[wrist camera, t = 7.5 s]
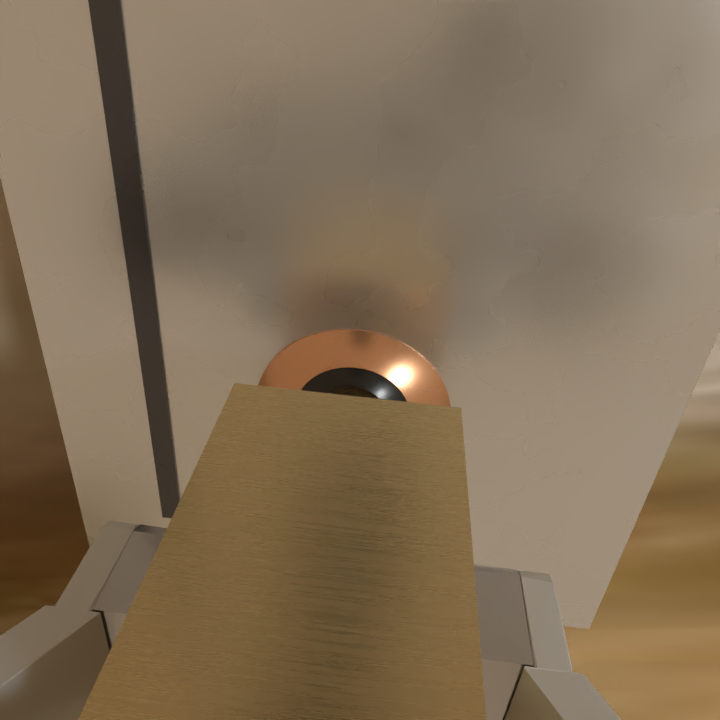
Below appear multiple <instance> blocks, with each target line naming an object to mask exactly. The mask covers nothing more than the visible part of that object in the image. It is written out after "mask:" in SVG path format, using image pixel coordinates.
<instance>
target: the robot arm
mask: <svg viewBox="0 0 720 720" xmlns="http://www.w3.org/2000/svg"><path fill="white" fill-rule="evenodd" d="M166 529H167V528H162V527H155V526H148V525H142V524H133V523H126V522H118V521H111V520H110V521H108V522H107V523H106V524H105V525H104V526H103V527H102V528H101V529H100V531H99V532H98V534H97V536H96V537H95V539H94V541H93V543H92V544H91V546H90V548H89V549H88V551H87V553H86V554H85V556H84V558H83V559H82V561H81V563H80V565H79V566H78V568H77V570H76V571H75V573H74V575H73V576H72V578H71V580H70V582H69V583H68V585H67V587H66V588H65V590H64V592H63V593H62V595H61V597H60V598H59V600H58V602H57V604H56V605H55V606H47V605H45V606H44V607H42V608H41V609H39V610H38V611H36V612H35V613H33V614H32V615H30V616H29V617H27V618H26V619H24V620H23V621H21V622H20V623H18V624H17V625H15V626H14V627H12V628H11V629H9V630H8V631H6V632H5V633H3V634H2V635H0V720H78V719H79V717H80V714H81V712H82V710H83V708H84V706H85V704H86V701H87V699H88V697H89V695H90V693H91V691H92V689H93V686H94V684H95V682H96V680H97V678H98V676H99V673H100V671H101V669H102V667H103V665H104V663H105V661H106V658H107V656H108V654H109V652H110V650H111V648H112V646H113V643H114V641H115V639H116V637H117V635H118V633H119V630H120V628H121V626H122V624H123V622H124V620H125V618H126V615H127V613H128V611H129V609H130V607H131V605H132V602H133V600H134V598H135V596H136V594H137V592H138V590H139V587H140V585H141V583H142V581H143V579H144V577H145V574H146V572H147V570H148V568H149V566H150V564H151V562H152V559H153V557H154V555H155V553H156V551H157V549H158V546H159V544H160V542H161V540H162V538H163V536H164V534H165V531H166ZM474 572H475V585H476V597H477V610H478V622H479V635H480V647H481V660H482V672H483V685H484V697H485V710H486V720H621V719H620V717H619V716H618V715H617V714H616V713H615V711H614V710H613V709H612V708H611V707H610V705H609V704H608V703H607V702H606V701H605V699H604V698H603V697H602V696H601V695H600V693H599V692H598V691H597V690H596V689H595V687H594V686H593V685H592V684H591V682H590V681H589V680H588V679H587V678H586V676H585V675H584V674H582V673H576V672H573V669H572V665H571V660H570V655H569V651H568V646H567V641H566V637H565V632H564V627H563V623H562V618H561V613H560V609H559V604H558V599H557V595H556V590H555V585H554V581H553V579H552V577H551V576H550V574H545V573H537V572H529V571H520V570H517V571H516V570H515V569H508V568H499V567H489V566H480V565H474Z"/></svg>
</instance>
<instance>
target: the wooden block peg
mask: <svg viewBox="0 0 720 720" xmlns="http://www.w3.org/2000/svg"><path fill="white" fill-rule="evenodd" d="M78 720H486V710H485V697H484V685H483V672H482V660H481V647H480V635H479V622H478V610H477V597H476V585H475V572H474V560H473V547H472V535H471V522H470V510H469V497H468V485H467V472H466V460H465V447H464V435H463V422H462V410H461V408H458V407H449V406H440V405H431V404H422V403H413V402H404V401H395V400H385V399H379V398H378V397H377V396H376V395H375V394H373V393H372V392H370V391H368V390H365V389H362V388H359V387H350V386H348V387H339V388H336V389H333V390H331V391H329V392H328V393H322V392H312V391H303V390H294V389H285V388H276V387H267V386H258V385H249V384H239V383H234V385H233V387H232V389H231V391H230V394H229V396H228V398H227V400H226V402H225V404H224V407H223V409H222V411H221V413H220V415H219V417H218V419H217V422H216V424H215V426H214V428H213V430H212V432H211V434H210V437H209V439H208V441H207V443H206V445H205V447H204V450H203V452H202V454H201V456H200V458H199V460H198V462H197V465H196V467H195V469H194V471H193V473H192V475H191V478H190V480H189V482H188V484H187V486H186V488H185V490H184V493H183V495H182V497H181V499H180V501H179V503H178V506H177V508H176V510H175V512H174V514H173V516H172V518H171V521H170V523H169V525H168V527H167V529H166V531H165V534H164V536H163V538H162V540H161V542H160V544H159V546H158V549H157V551H156V553H155V555H154V557H153V559H152V562H151V564H150V566H149V568H148V570H147V572H146V574H145V577H144V579H143V581H142V583H141V585H140V587H139V590H138V592H137V594H136V596H135V598H134V600H133V602H132V605H131V607H130V609H129V611H128V613H127V615H126V618H125V620H124V622H123V624H122V626H121V628H120V630H119V633H118V635H117V637H116V639H115V641H114V643H113V646H112V648H111V650H110V652H109V654H108V656H107V658H106V661H105V663H104V665H103V667H102V669H101V671H100V673H99V676H98V678H97V680H96V682H95V684H94V686H93V689H92V691H91V693H90V695H89V697H88V699H87V701H86V704H85V706H84V708H83V710H82V712H81V714H80V717H79V719H78Z"/></svg>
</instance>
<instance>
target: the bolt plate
mask: <svg viewBox="0 0 720 720" xmlns="http://www.w3.org/2000/svg"><path fill="white" fill-rule="evenodd" d="M0 178H1V182H2V187H3V191H4V195H5V199H6V203H7V207H8V211H9V216H10V220H11V224H12V228H13V232H14V236H15V240H16V245H17V249H18V253H19V257H20V261H21V265H22V269H23V274H24V278H25V282H26V286H27V290H28V294H29V298H30V303H31V307H32V311H33V315H34V319H35V323H36V327H37V331H38V336H39V340H40V344H41V348H42V352H43V356H44V360H45V365H46V369H47V373H48V377H49V381H50V385H51V389H52V394H53V398H54V402H55V406H56V410H57V414H58V418H59V423H60V427H61V431H62V435H63V439H64V443H65V447H66V452H67V456H68V460H69V464H70V468H71V472H72V476H73V480H74V485H75V489H76V493H77V497H78V501H79V505H80V509H81V514H82V518H83V522H84V526H85V530H86V534H87V538H88V543H89V547H90V546H91V544H92V543H93V541H94V539H95V537H96V536H97V534H98V532H99V531H100V529H101V528H102V527H103V526H104V525H105V524H106V523H107V522H108V521H110V520H111V521H118V522H126V523H133V524H142V525H148V526H155V527H162V528H167V527H168V525H169V523H170V521H171V518H172V516H173V514H174V512H175V510H176V508H177V506H178V503H179V501H180V499H181V497H182V495H183V493H184V490H185V488H186V486H187V484H188V482H189V480H190V478H191V475H192V473H193V471H194V469H195V467H196V465H197V462H198V460H199V458H200V456H201V454H202V452H203V450H204V447H205V445H206V443H207V441H208V439H209V437H210V434H211V432H212V430H213V428H214V426H215V424H216V422H217V419H218V417H219V415H220V413H221V411H222V409H223V407H224V404H225V402H226V400H227V398H228V396H229V394H230V391H231V389H232V387H233V385H234V383H239V384H249V385H258V386H267V387H276V388H285V389H294V390H303V391H312V392H322V393H328V392H329V391H331V390H333V389H336V388H339V387H348V386H350V387H359V388H362V389H365V390H368V391H370V392H372V393H373V394H375V395H376V396H377V397H378V398H379V399H385V400H395V401H404V402H413V403H422V404H431V405H440V406H449V407H458V408H461V410H462V422H463V435H464V447H465V460H466V472H467V485H468V497H469V510H470V522H471V535H472V547H473V560H474V565H480V566H489V567H499V568H508V569H515V570H516V571H517V570H520V571H529V572H537V573H545V574H550V576H551V577H552V579H553V581H554V585H555V590H556V595H557V599H558V604H559V609H560V613H561V618H562V623H563V626H569V627H577V628H586V629H589V628H590V625H591V623H592V621H593V619H594V616H595V614H596V612H597V609H598V607H599V605H600V603H601V600H602V598H603V596H604V593H605V591H606V589H607V587H608V584H609V582H610V580H611V578H612V575H613V573H614V571H615V568H616V566H617V564H618V562H619V559H620V557H621V555H622V552H623V550H624V548H625V546H626V543H627V541H628V539H629V536H630V534H631V532H632V530H633V527H634V525H635V523H636V520H637V518H638V516H639V514H640V511H641V509H642V507H643V504H644V502H645V500H646V498H647V495H648V493H649V491H650V488H651V486H652V484H653V482H654V479H655V477H656V475H657V472H658V470H659V468H660V466H661V463H662V461H663V459H664V456H665V454H666V452H667V450H668V447H669V445H670V443H671V440H672V438H673V436H674V434H675V431H676V429H677V427H678V424H679V422H680V420H681V418H682V415H683V413H684V411H685V408H686V406H687V404H688V402H689V399H690V397H691V395H692V393H693V390H694V388H695V386H696V383H697V381H698V379H699V377H700V374H701V372H702V370H703V367H704V365H705V363H706V361H707V358H708V356H709V354H710V351H711V349H712V347H713V345H714V342H715V340H716V338H717V335H718V333H719V331H720V0H0Z"/></svg>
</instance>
